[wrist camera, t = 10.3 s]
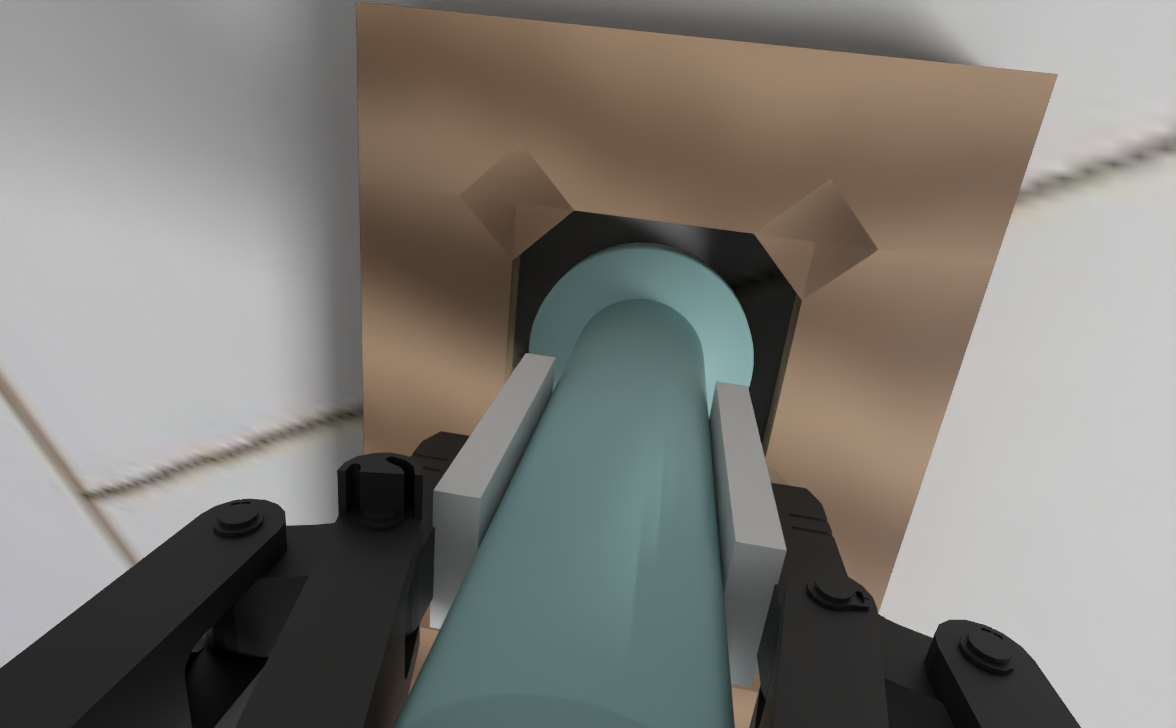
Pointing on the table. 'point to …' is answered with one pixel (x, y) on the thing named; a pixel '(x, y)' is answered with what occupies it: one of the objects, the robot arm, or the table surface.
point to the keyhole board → (690, 197)
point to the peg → (605, 518)
